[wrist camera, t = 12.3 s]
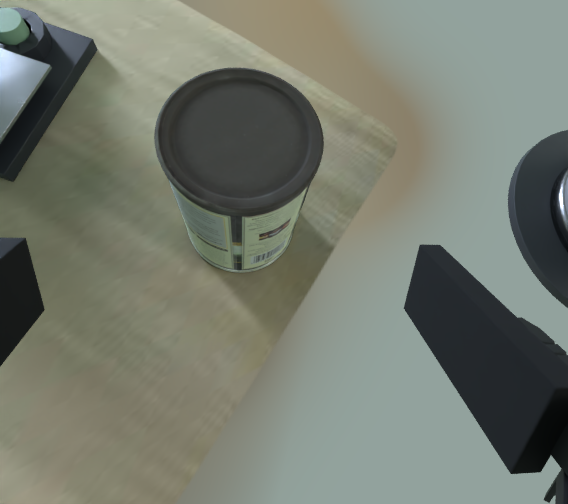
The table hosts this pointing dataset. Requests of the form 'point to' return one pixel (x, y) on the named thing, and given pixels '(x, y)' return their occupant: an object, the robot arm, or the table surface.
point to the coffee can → (239, 163)
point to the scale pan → (17, 86)
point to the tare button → (12, 27)
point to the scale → (43, 86)
